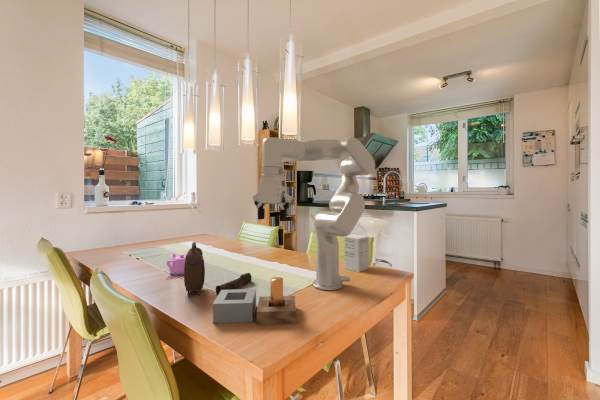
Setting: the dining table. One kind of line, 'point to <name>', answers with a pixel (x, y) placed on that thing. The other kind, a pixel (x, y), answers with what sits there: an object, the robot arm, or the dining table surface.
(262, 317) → the mount block
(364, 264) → the supplement box
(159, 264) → the dining table surface
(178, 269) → the teapot
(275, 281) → the pin
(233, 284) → the hand tool
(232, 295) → the socket block
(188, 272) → the alarm clock
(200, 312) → the dining table surface
